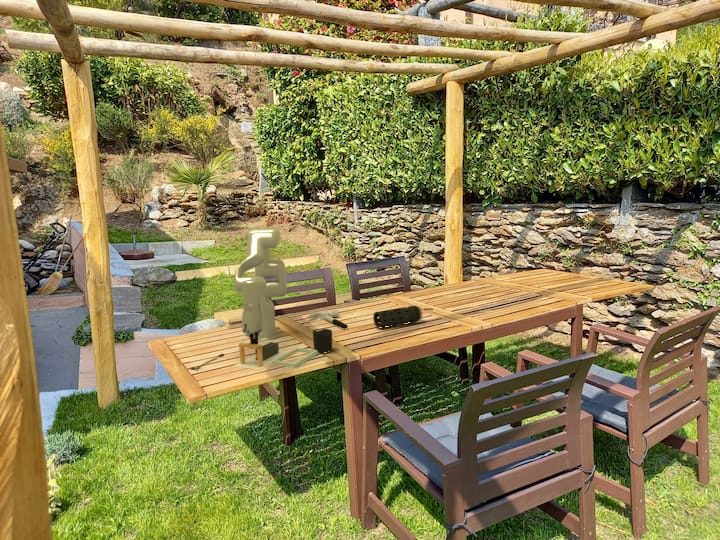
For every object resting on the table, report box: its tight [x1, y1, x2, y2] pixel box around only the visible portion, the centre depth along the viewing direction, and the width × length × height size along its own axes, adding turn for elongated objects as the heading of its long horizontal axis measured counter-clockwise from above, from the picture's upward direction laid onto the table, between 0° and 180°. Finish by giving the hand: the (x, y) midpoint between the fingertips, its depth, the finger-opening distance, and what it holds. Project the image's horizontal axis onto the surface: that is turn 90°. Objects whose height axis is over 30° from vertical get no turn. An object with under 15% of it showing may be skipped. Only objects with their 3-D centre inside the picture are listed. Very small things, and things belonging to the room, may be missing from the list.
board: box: [233, 349, 290, 371], centre depth 221 cm, size 26×14×1 cm, turn 155°
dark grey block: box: [254, 341, 280, 361], centre depth 224 cm, size 14×4×5 cm, turn 155°
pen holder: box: [312, 328, 333, 353], centre depth 231 cm, size 9×9×10 cm
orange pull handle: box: [238, 342, 263, 366], centre depth 213 cm, size 2×11×9 cm, turn 65°
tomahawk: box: [190, 353, 225, 372], centre depth 220 cm, size 21×7×1 cm, turn 156°
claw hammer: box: [306, 309, 348, 329], centre depth 281 cm, size 5×22×30 cm
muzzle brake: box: [372, 305, 423, 329], centre depth 273 cm, size 10×28×10 cm, turn 117°
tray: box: [271, 347, 319, 369], centre depth 219 cm, size 20×12×2 cm, turn 155°
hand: (254, 346), depth 215 cm, fingers closed
